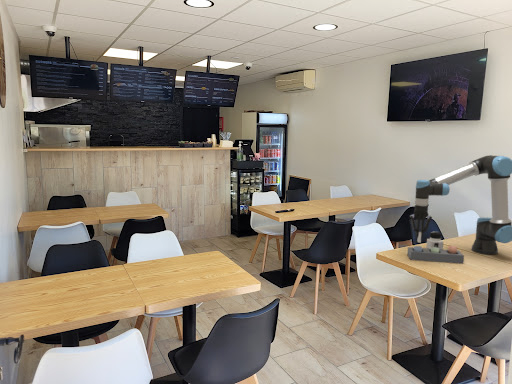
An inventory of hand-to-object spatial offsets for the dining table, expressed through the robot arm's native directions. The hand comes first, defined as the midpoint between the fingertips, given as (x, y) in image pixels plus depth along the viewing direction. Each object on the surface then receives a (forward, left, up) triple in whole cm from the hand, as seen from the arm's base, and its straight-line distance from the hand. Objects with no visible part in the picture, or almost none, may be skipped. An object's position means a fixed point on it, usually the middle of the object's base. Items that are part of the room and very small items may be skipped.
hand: (419, 242), depth 238 cm
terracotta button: (-20, 0, -7) cm, 21 cm away
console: (-10, 0, -10) cm, 14 cm away
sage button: (-10, 0, -8) cm, 13 cm away
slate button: (0, 0, -8) cm, 8 cm away
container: (-14, -18, -11) cm, 25 cm away
